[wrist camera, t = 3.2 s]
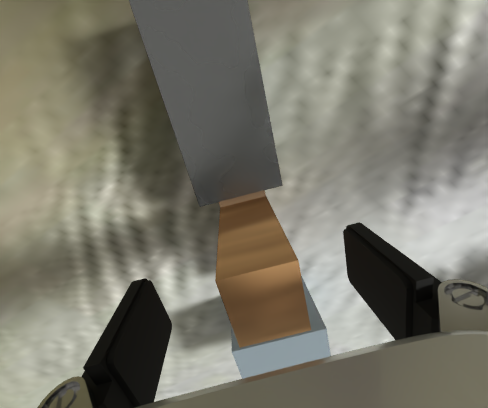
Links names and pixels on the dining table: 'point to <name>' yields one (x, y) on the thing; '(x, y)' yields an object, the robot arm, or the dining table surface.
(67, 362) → the dining table surface
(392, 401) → the robot arm
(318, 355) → the socket block
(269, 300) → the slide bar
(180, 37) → the sleeve
